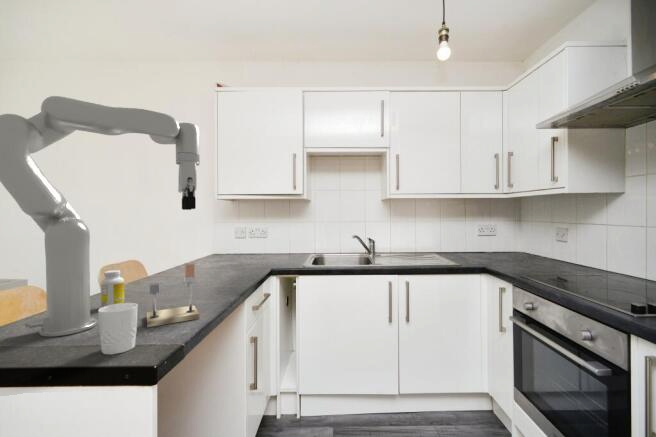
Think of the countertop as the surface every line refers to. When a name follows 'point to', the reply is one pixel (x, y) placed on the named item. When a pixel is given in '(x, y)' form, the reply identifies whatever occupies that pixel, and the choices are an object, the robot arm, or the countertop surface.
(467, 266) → the countertop surface
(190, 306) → the slider block
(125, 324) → the white cup
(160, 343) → the countertop surface
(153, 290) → the divider frame
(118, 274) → the supplement bottle
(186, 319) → the hole plate
